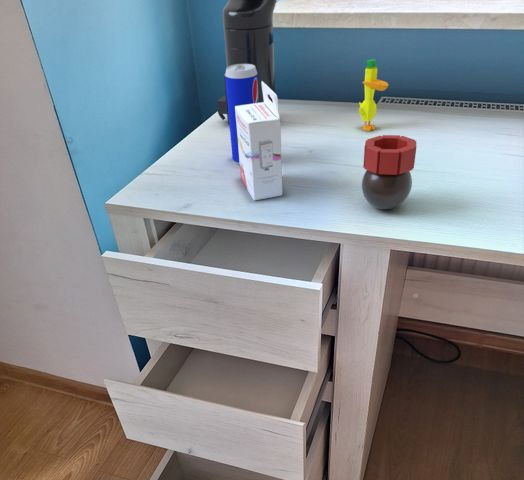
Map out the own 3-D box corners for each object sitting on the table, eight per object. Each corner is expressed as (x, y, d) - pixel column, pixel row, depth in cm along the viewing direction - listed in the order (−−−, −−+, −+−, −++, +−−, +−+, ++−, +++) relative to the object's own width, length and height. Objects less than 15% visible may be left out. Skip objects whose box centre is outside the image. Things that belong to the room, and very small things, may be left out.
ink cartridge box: (239, 180, 86) (231, 83, 76) (267, 175, 87) (263, 79, 77) (253, 201, 80) (246, 99, 70) (283, 196, 80) (281, 94, 71)
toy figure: (388, 131, 99) (396, 61, 92) (375, 136, 98) (382, 65, 90) (363, 123, 104) (368, 55, 96) (350, 127, 102) (354, 59, 94)
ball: (355, 215, 75) (359, 167, 70) (364, 194, 80) (368, 148, 75) (405, 220, 73) (412, 172, 68) (411, 199, 78) (418, 152, 73)
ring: (362, 174, 70) (363, 151, 68) (365, 156, 75) (366, 134, 74) (413, 175, 69) (416, 152, 67) (413, 156, 74) (416, 135, 72)
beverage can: (262, 165, 90) (258, 70, 80) (233, 167, 90) (224, 72, 80) (260, 154, 94) (256, 62, 84) (232, 156, 94) (224, 64, 84)
